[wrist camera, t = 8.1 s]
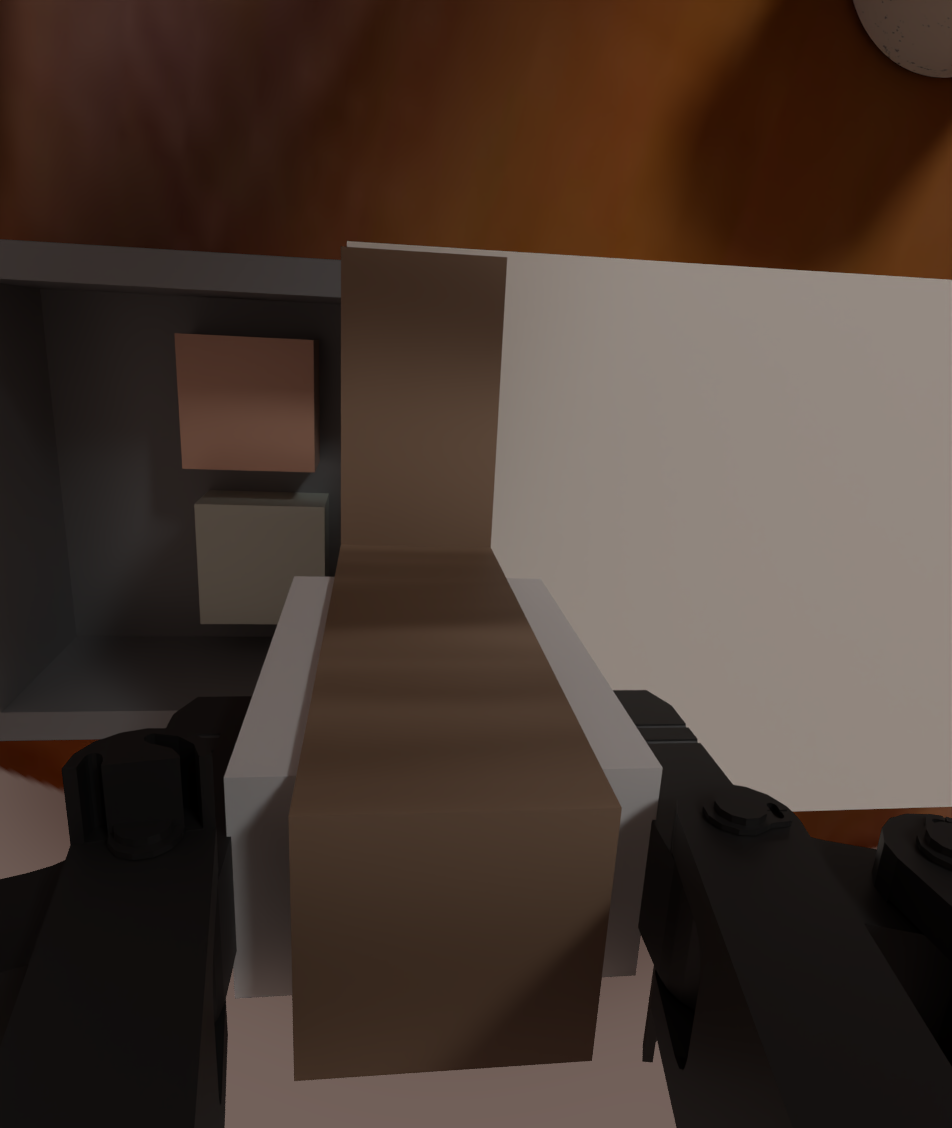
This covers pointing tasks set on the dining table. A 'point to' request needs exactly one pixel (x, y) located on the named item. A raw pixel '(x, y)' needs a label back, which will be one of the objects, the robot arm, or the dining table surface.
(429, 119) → the dining table surface
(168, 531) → the box
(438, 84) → the dining table surface
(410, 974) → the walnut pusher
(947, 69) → the teacup with lid
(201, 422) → the terracotta tile
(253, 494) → the sage tile
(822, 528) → the board
